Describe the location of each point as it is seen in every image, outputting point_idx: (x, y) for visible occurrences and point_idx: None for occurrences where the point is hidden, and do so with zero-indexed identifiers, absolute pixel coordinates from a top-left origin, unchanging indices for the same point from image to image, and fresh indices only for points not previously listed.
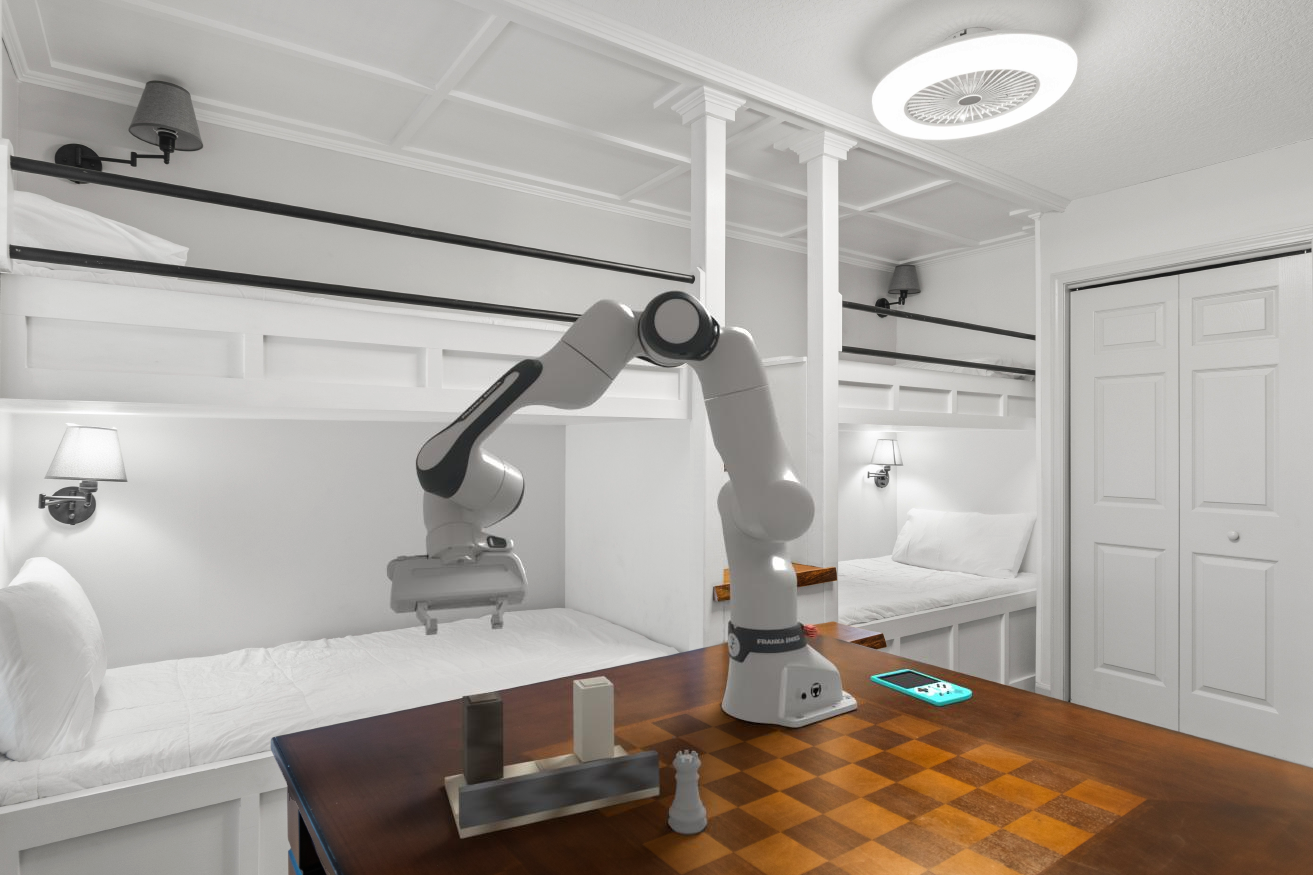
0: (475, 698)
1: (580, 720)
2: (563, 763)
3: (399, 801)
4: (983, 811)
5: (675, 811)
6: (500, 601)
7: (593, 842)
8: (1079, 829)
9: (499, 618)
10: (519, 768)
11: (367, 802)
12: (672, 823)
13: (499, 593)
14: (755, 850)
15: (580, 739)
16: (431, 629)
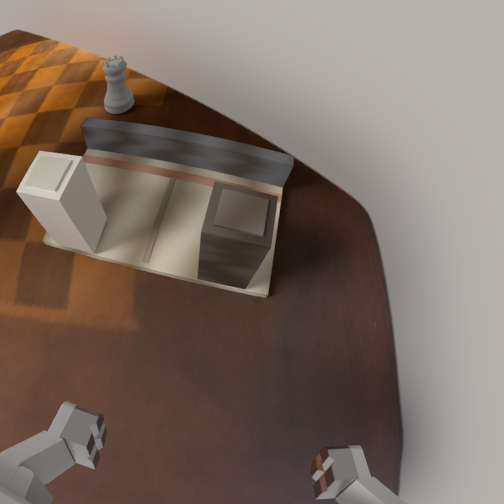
0: (256, 212)
1: (91, 196)
2: (122, 237)
3: (320, 288)
4: (15, 66)
5: (130, 94)
6: (25, 473)
7: (189, 121)
8: (17, 50)
9: (69, 418)
10: (174, 259)
11: (349, 307)
12: (131, 102)
13: (9, 492)
14: None
15: (97, 212)
16: (344, 446)
